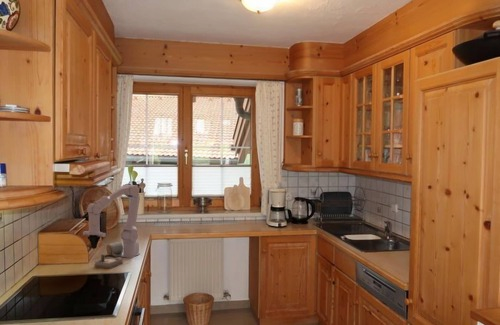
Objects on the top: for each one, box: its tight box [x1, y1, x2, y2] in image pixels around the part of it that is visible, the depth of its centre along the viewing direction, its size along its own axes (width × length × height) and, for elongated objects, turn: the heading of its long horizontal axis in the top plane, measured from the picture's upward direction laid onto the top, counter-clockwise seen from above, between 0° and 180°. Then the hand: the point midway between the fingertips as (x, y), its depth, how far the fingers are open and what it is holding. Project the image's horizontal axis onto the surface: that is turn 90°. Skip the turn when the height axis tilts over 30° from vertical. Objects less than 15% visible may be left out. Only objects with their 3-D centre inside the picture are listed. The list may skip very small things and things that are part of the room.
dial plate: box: [94, 256, 123, 270], centre depth 215 cm, size 10×11×3 cm
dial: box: [100, 254, 116, 263], centre depth 215 cm, size 8×8×5 cm
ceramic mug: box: [105, 241, 123, 258], centre depth 236 cm, size 11×8×8 cm
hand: (94, 248), depth 215 cm, fingers closed
